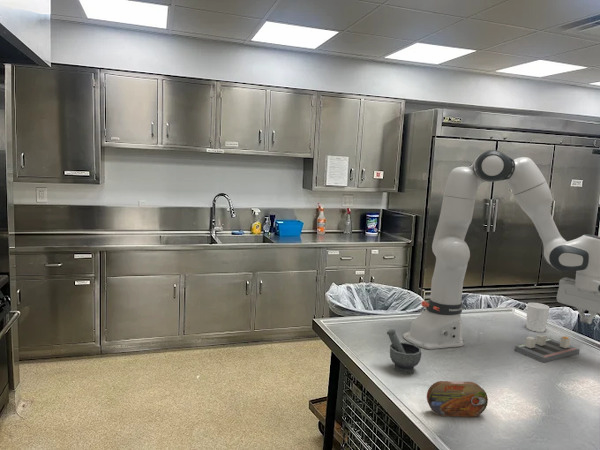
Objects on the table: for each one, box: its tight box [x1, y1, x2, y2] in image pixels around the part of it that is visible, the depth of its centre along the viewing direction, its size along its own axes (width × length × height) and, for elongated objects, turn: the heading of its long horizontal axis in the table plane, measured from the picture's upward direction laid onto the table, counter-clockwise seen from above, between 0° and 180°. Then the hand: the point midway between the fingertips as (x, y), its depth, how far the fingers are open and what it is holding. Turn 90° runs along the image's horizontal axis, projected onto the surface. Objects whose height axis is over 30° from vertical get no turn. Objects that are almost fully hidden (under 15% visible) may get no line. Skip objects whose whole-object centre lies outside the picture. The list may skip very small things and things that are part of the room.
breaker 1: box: [524, 336, 537, 348], centre depth 159 cm, size 2×2×3 cm
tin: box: [426, 380, 489, 418], centre depth 115 cm, size 15×3×8 cm, turn 90°
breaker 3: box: [559, 336, 571, 348], centre depth 160 cm, size 2×2×4 cm
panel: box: [514, 338, 580, 363], centre depth 160 cm, size 20×11×2 cm, turn 119°
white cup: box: [525, 302, 550, 333], centre depth 183 cm, size 8×8×10 cm
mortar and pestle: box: [386, 328, 422, 375], centre depth 140 cm, size 11×9×12 cm
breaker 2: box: [535, 334, 547, 346], centre depth 162 cm, size 2×2×3 cm
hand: (585, 322), depth 154 cm, fingers closed
